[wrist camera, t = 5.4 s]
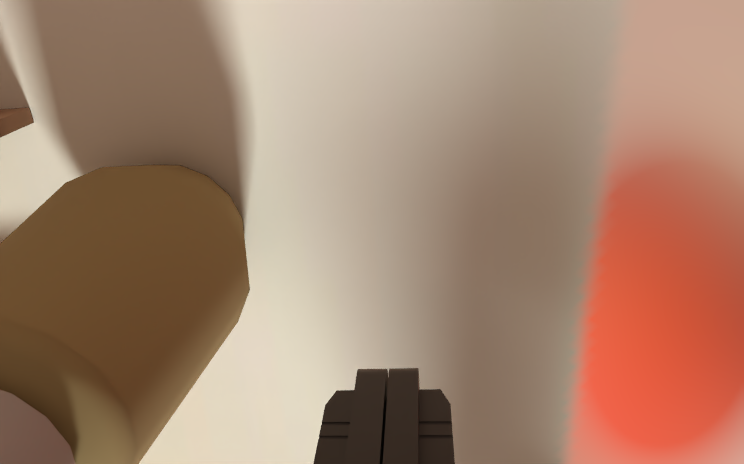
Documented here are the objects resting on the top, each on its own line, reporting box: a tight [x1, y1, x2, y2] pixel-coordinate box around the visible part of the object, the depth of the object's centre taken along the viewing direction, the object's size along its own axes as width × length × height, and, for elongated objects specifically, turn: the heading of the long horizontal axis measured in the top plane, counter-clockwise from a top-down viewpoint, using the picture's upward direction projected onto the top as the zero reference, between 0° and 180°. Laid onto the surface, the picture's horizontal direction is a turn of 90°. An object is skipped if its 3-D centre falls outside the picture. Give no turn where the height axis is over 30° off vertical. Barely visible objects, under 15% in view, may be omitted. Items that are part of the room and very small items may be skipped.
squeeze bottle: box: [0, 165, 250, 464], centre depth 17 cm, size 8×8×18 cm
